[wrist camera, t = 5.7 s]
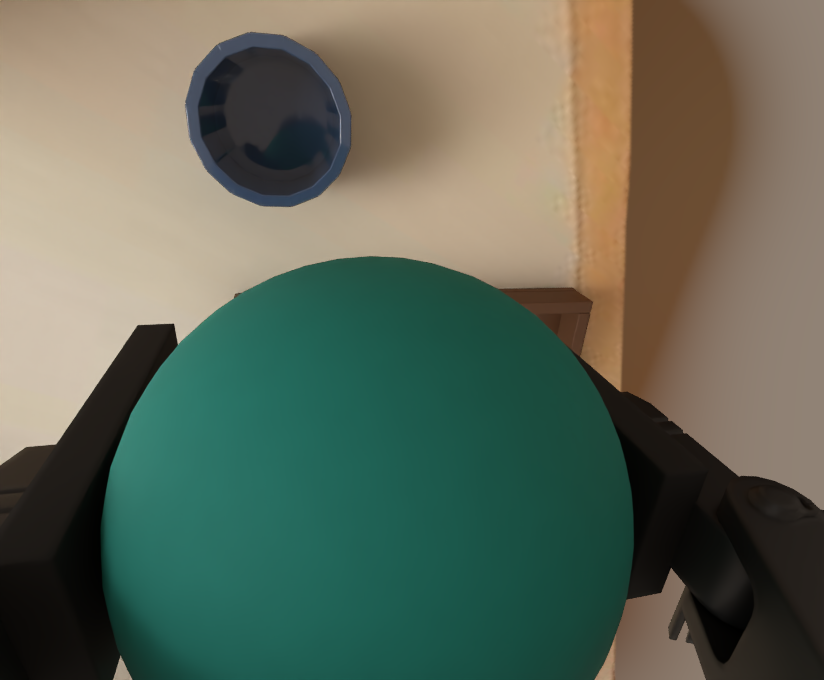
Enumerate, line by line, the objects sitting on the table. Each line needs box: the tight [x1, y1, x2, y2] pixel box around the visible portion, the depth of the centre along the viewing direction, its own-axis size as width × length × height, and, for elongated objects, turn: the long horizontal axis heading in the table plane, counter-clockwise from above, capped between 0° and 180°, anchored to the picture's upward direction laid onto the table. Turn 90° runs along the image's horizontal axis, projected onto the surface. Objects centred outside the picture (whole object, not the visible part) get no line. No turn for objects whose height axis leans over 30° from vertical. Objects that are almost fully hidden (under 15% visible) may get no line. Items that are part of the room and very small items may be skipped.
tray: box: [234, 288, 593, 357], centre depth 33 cm, size 16×22×3 cm
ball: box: [100, 256, 634, 680], centre depth 8 cm, size 8×8×8 cm
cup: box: [185, 32, 351, 207], centre depth 22 cm, size 7×7×5 cm
